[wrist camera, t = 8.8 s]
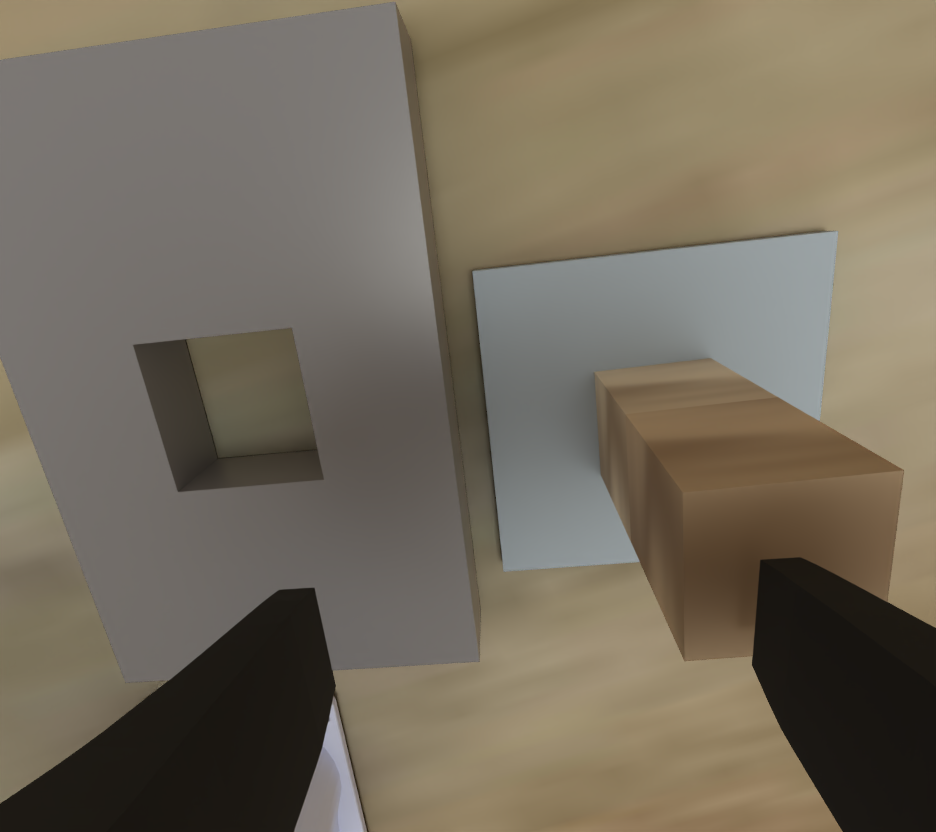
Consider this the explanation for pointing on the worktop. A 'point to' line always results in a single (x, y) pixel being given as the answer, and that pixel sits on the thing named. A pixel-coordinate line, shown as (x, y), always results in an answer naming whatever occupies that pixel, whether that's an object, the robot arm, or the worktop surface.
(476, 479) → the worktop surface
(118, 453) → the grey flat plate
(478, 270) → the mat
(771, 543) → the plug
